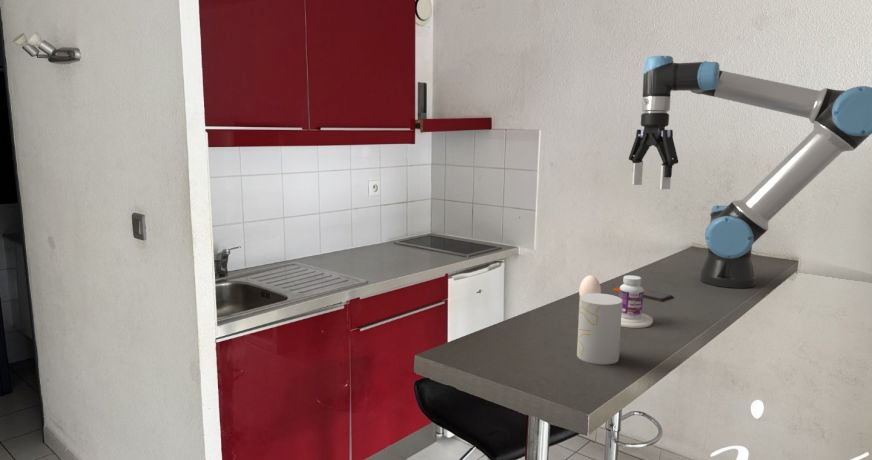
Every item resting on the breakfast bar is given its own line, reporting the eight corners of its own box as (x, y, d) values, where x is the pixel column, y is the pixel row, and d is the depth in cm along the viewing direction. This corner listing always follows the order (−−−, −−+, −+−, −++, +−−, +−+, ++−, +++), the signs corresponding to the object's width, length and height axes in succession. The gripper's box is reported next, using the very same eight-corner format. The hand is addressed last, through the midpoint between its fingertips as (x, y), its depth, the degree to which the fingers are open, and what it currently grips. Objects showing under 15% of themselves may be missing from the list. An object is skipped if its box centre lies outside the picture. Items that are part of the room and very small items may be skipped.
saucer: (635, 312, 150) (635, 308, 150) (662, 326, 139) (662, 321, 139) (595, 315, 147) (596, 311, 147) (620, 329, 136) (620, 325, 136)
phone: (625, 284, 174) (674, 295, 163) (624, 288, 174) (673, 299, 163) (612, 288, 170) (662, 299, 159) (612, 292, 170) (661, 304, 159)
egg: (604, 306, 155) (606, 276, 153) (589, 309, 152) (591, 279, 151) (589, 301, 159) (590, 272, 158) (574, 304, 157) (575, 274, 155)
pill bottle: (629, 321, 139) (632, 280, 138) (613, 314, 144) (615, 275, 143) (646, 317, 142) (649, 278, 140) (629, 311, 147) (632, 273, 145)
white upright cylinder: (571, 349, 124) (574, 293, 122) (609, 348, 125) (613, 292, 123) (584, 364, 116) (587, 305, 114) (625, 363, 117) (629, 304, 115)
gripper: (619, 113, 182) (615, 183, 185) (671, 111, 158) (665, 191, 161) (641, 113, 184) (637, 182, 187) (695, 111, 160) (689, 190, 163)
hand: (650, 186), depth 174 cm, fingers open, 13 cm apart
